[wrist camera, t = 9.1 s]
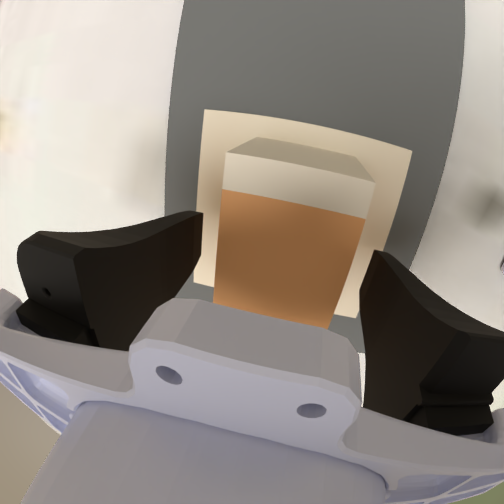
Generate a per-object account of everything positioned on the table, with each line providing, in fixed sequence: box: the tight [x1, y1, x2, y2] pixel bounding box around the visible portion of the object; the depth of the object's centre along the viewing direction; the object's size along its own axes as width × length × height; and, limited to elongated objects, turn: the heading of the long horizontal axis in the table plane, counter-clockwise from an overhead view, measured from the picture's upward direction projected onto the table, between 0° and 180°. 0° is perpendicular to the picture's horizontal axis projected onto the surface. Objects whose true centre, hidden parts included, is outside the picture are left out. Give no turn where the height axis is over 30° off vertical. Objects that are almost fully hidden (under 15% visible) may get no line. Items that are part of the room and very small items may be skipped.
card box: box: [213, 137, 376, 330], centre depth 12 cm, size 8×5×5 cm, turn 172°
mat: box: [165, 0, 465, 353], centre depth 11 cm, size 14×32×1 cm, turn 172°
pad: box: [194, 109, 412, 318], centre depth 15 cm, size 10×10×1 cm
